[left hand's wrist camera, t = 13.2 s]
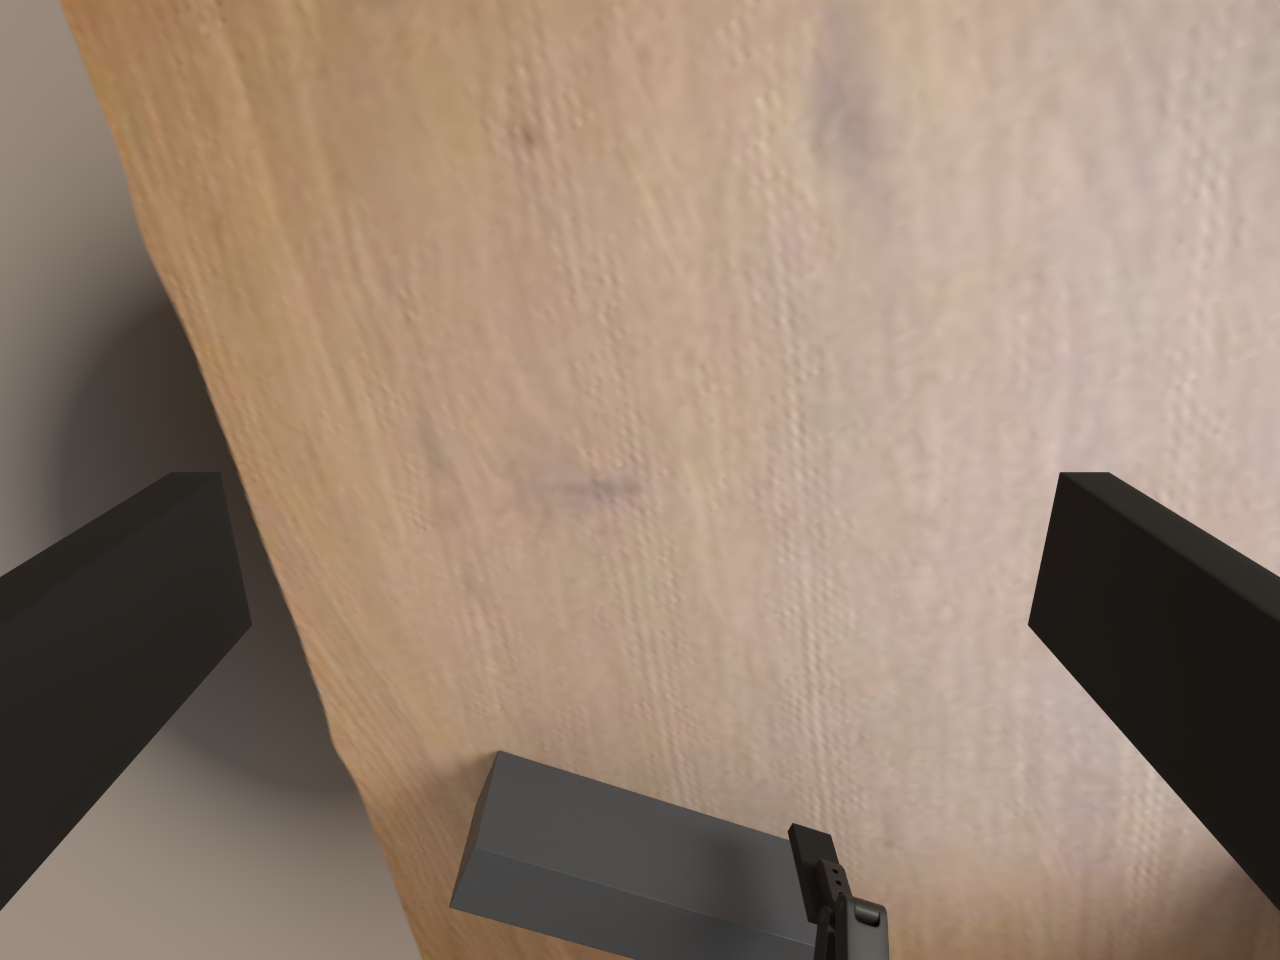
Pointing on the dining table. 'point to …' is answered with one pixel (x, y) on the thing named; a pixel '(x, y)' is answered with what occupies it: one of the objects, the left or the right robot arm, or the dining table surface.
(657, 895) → the bar
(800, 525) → the dining table surface
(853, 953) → the right robot arm
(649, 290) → the dining table surface
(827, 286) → the dining table surface
